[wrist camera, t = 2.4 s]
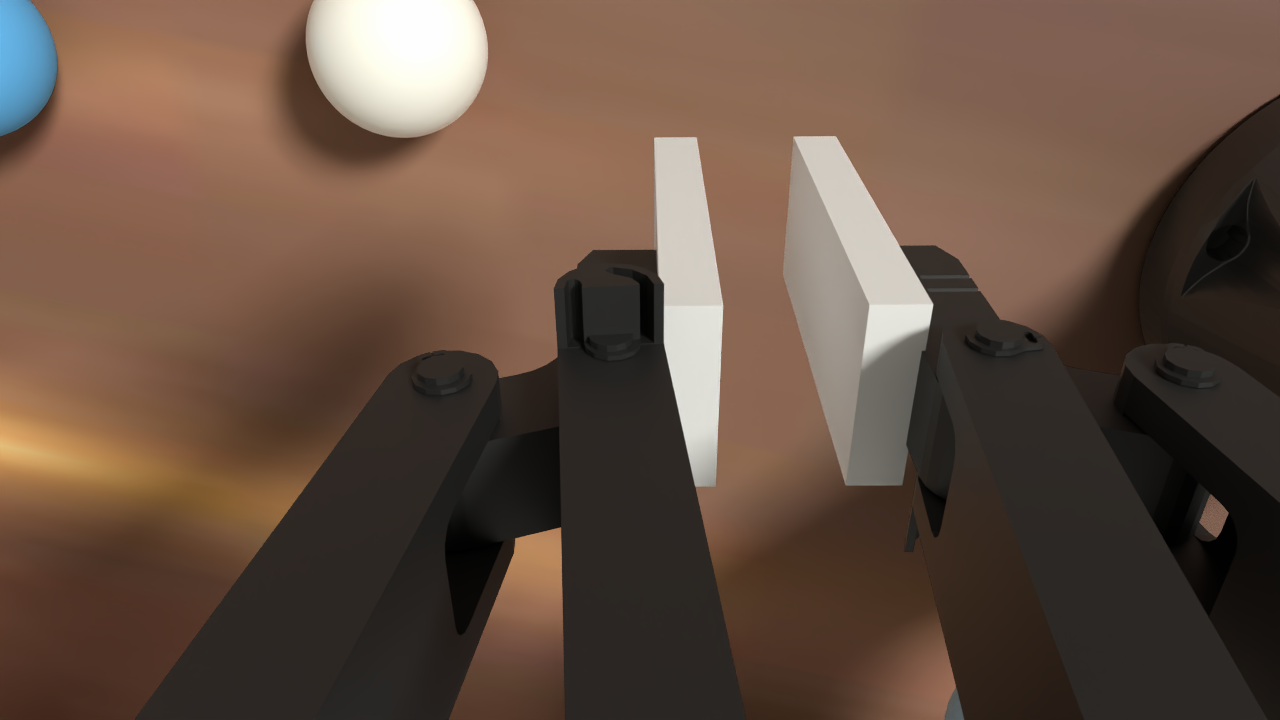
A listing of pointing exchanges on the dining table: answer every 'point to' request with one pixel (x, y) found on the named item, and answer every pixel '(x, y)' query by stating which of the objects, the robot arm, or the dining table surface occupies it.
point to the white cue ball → (398, 61)
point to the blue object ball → (24, 64)
